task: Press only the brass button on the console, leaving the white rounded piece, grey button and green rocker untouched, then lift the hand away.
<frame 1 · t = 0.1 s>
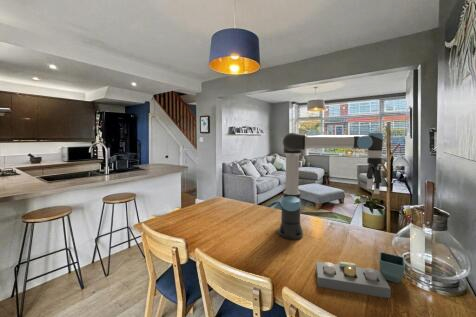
hand: (372, 191, 135), 28 cm above the table, fingers open, 13 cm apart
flower pot: (390, 278, 95), on the table
green rocker: (347, 265, 96), point 5 cm above the table, hinge at -12.0°, touching console
brass button: (349, 273, 91), point 4 cm above the table, slide at 0.0 cm
console: (349, 282, 92), on the table
white rounded piece: (329, 270, 94), point 4 cm above the table, slide at 0.0 cm
grey button: (371, 276, 89), point 4 cm above the table, slide at 0.0 cm
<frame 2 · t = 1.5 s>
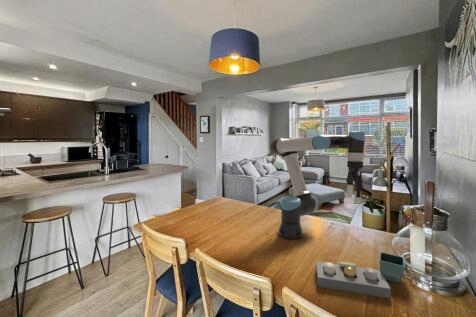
hand: (353, 199, 117), 28 cm above the table, fingers open, 13 cm apart
nothing on the table moved.
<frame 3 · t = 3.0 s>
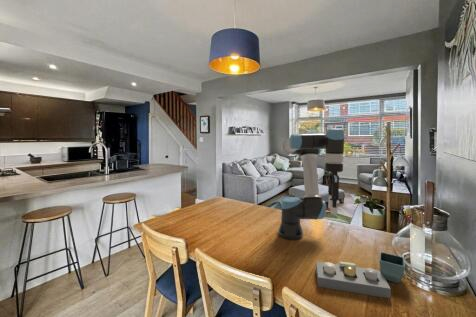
hand: (332, 211, 101), 27 cm above the table, fingers open, 7 cm apart
nothing on the table moved.
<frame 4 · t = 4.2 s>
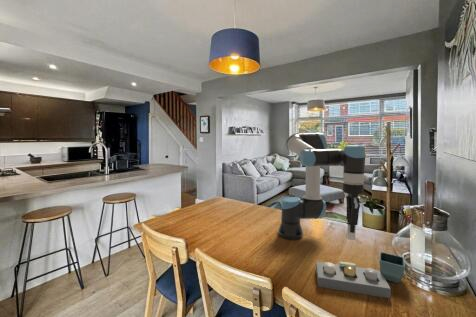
hand: (351, 238, 90), 19 cm above the table, fingers closed
nothing on the table moved.
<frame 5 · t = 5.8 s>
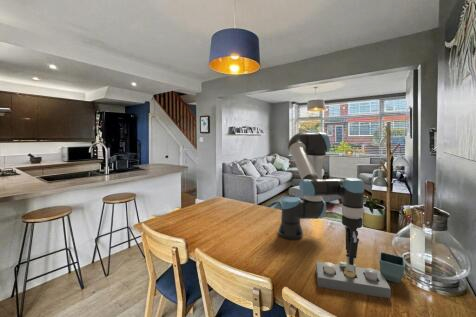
hand: (350, 270, 91), 6 cm above the table, fingers closed
brass button: (349, 276, 92), point 3 cm above the table, slide at 1.1 cm, touching gripper
everything else where it was.
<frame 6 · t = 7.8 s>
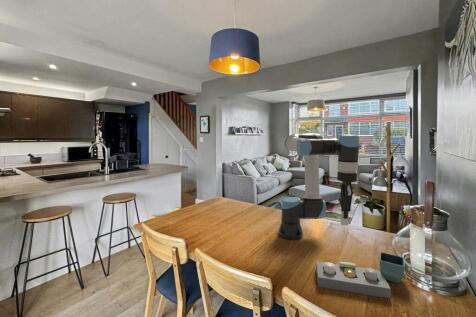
hand: (344, 224, 94), 24 cm above the table, fingers closed
brass button: (349, 276, 92), point 3 cm above the table, slide at 1.4 cm
everything else where it was.
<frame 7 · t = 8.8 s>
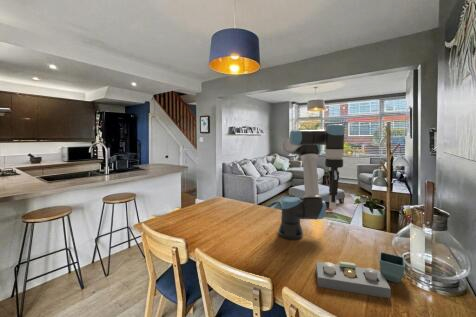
hand: (332, 208, 101), 28 cm above the table, fingers closed
nothing on the table moved.
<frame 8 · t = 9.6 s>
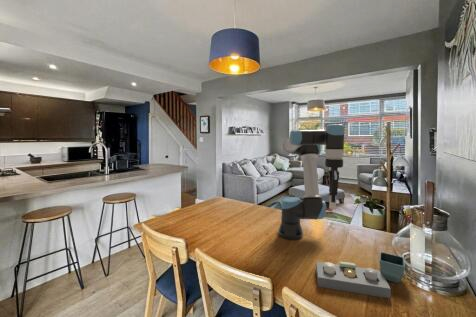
hand: (332, 208, 101), 28 cm above the table, fingers closed
nothing on the table moved.
at the end: brass button slide at 1.4 cm; white rounded piece slide at 0.0 cm; grey button slide at 0.0 cm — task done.
